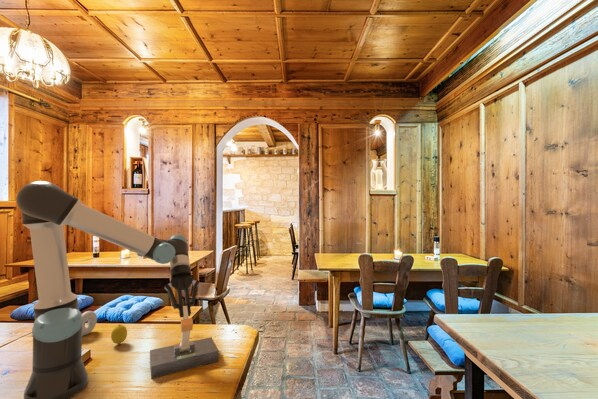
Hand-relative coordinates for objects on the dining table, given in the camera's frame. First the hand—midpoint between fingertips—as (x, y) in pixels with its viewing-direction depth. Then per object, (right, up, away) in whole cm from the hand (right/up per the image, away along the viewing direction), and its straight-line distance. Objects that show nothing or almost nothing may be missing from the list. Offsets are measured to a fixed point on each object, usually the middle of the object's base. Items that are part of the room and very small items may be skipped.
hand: (186, 324), depth 105 cm
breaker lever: (-2, -10, +2) cm, 10 cm away
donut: (-53, -14, +22) cm, 59 cm away
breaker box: (-2, -14, +2) cm, 14 cm away
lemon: (-33, -14, +14) cm, 39 cm away
